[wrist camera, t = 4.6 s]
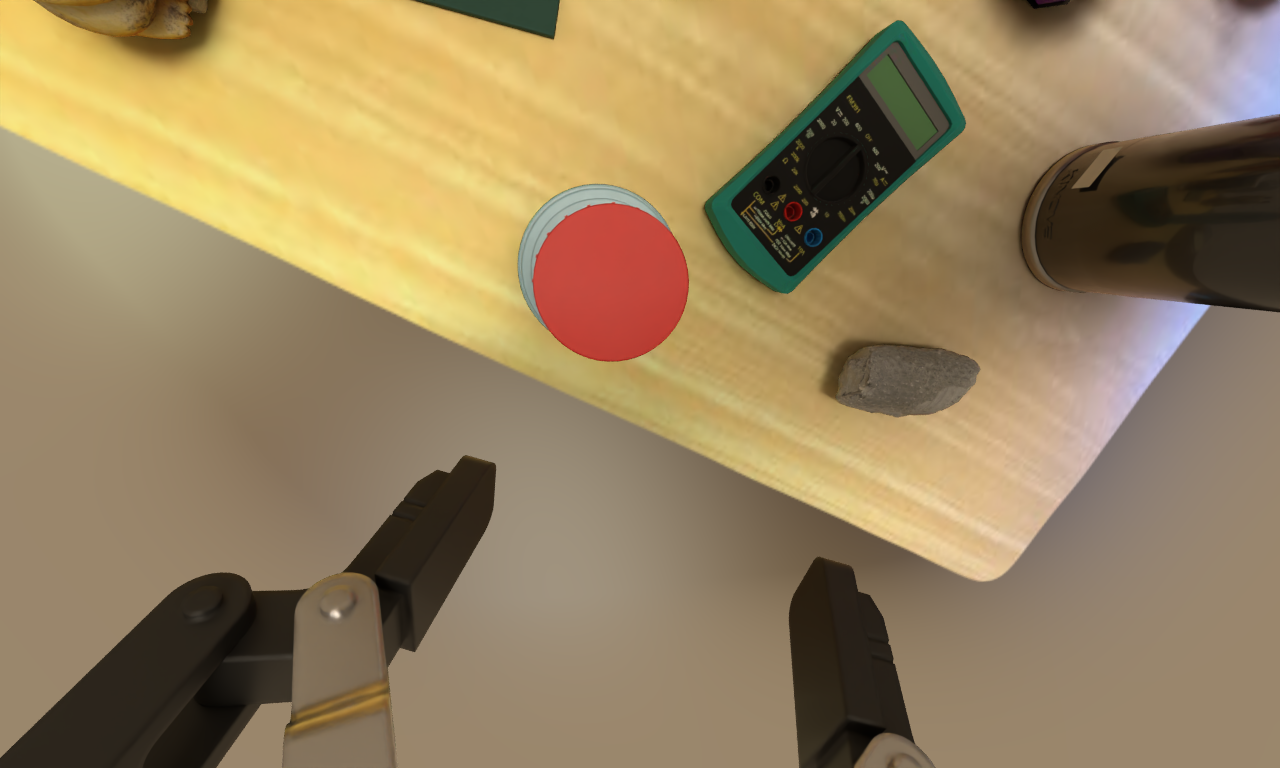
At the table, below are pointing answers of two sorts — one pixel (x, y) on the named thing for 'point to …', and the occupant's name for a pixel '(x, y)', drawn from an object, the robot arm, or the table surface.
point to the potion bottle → (1047, 3)
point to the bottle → (555, 214)
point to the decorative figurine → (129, 16)
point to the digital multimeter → (837, 160)
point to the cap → (610, 282)
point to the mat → (509, 12)
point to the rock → (905, 380)
